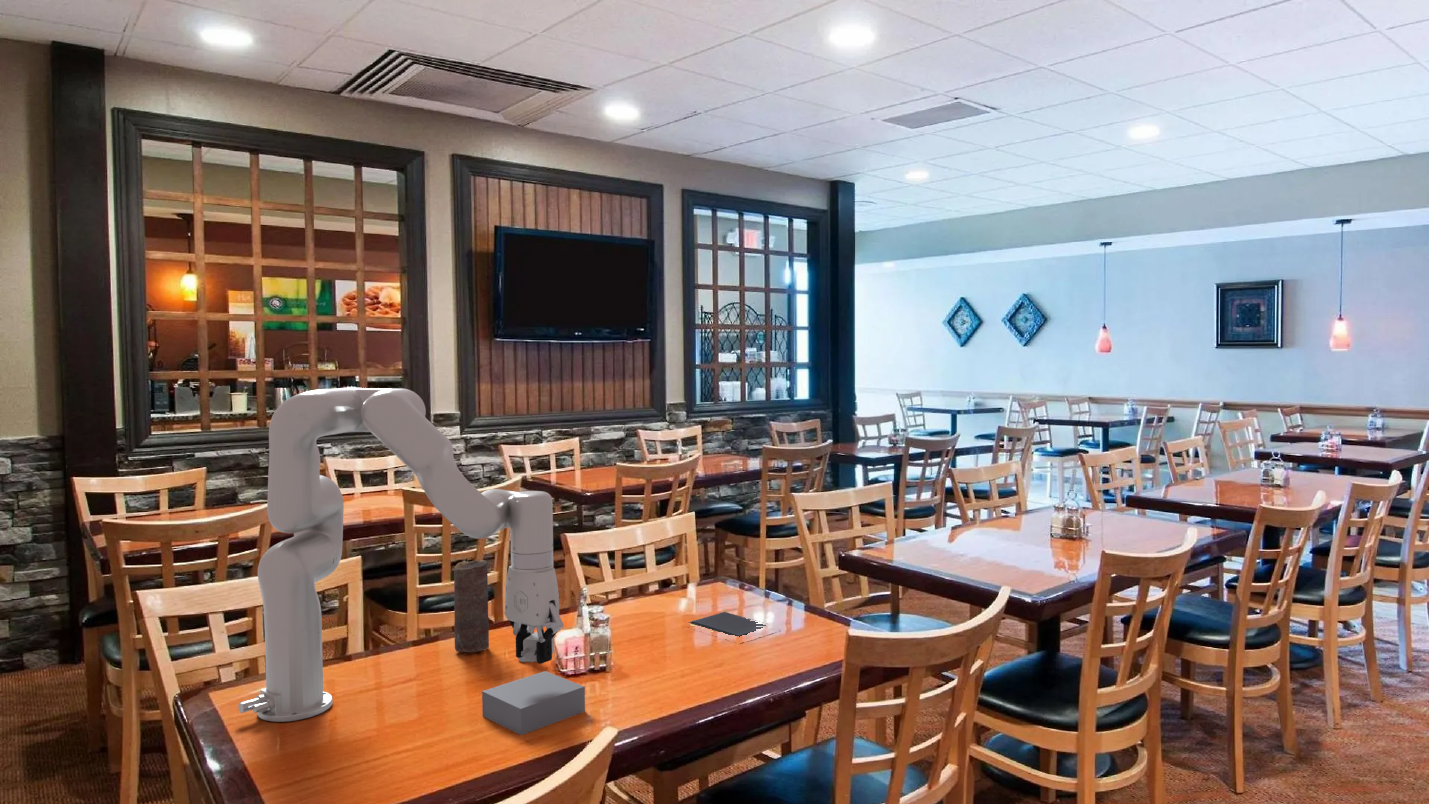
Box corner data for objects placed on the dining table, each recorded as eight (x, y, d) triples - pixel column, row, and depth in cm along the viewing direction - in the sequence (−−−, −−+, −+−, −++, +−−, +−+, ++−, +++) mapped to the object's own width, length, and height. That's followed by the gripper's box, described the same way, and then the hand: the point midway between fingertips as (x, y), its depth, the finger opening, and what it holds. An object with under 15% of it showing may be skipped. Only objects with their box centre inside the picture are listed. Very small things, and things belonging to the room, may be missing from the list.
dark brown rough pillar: (483, 657, 193) (482, 566, 192) (449, 657, 193) (448, 566, 192) (493, 646, 200) (491, 558, 199) (460, 645, 201) (459, 558, 200)
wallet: (783, 625, 212) (737, 639, 201) (783, 633, 212) (737, 647, 201) (725, 608, 226) (679, 620, 216) (725, 615, 226) (679, 628, 216)
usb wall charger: (554, 654, 165) (553, 632, 165) (536, 666, 158) (536, 644, 158) (534, 652, 166) (534, 631, 166) (516, 664, 159) (516, 642, 159)
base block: (521, 737, 153) (520, 708, 153) (482, 718, 162) (482, 691, 161) (585, 713, 164) (584, 686, 163) (545, 696, 172) (545, 671, 172)
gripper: (485, 557, 163) (487, 655, 164) (549, 570, 153) (550, 674, 154) (517, 550, 169) (518, 644, 170) (580, 562, 159) (581, 662, 160)
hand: (533, 657), depth 162 cm, fingers closed on usb wall charger, 4 cm apart
